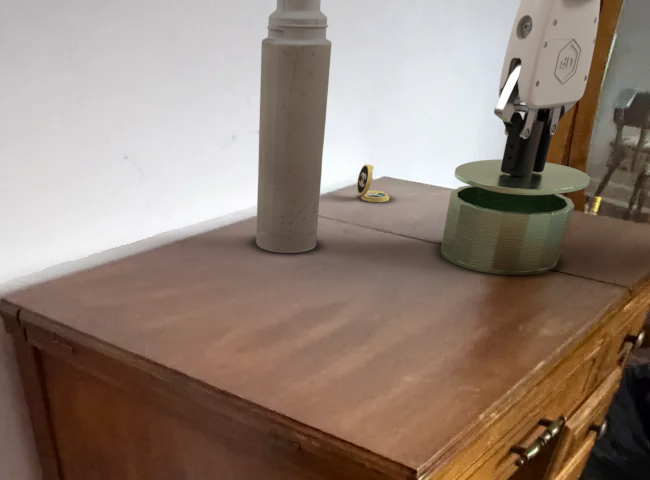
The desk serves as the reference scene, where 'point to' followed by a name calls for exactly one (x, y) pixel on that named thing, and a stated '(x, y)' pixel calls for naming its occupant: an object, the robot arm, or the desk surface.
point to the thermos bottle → (292, 126)
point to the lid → (531, 182)
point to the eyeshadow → (364, 185)
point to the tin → (505, 231)
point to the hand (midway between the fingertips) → (521, 170)
